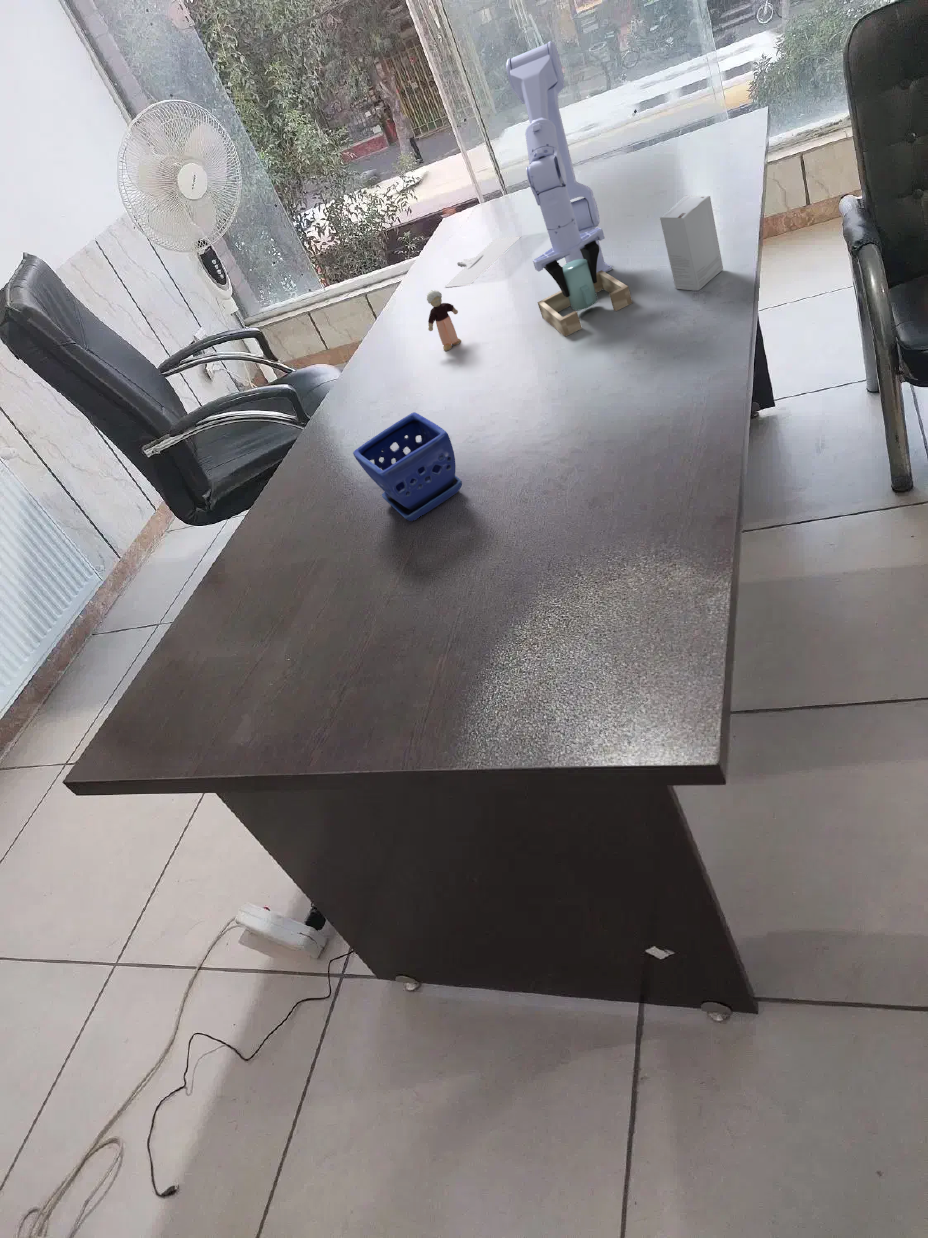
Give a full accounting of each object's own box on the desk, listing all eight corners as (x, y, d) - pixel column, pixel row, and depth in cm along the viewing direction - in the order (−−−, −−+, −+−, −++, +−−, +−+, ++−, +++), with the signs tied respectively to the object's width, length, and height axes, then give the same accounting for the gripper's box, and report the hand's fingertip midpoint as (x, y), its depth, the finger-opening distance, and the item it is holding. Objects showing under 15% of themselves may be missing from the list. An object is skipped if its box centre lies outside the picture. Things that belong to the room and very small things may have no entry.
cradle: (542, 317, 183) (537, 302, 181) (605, 285, 183) (601, 269, 181) (565, 336, 173) (560, 320, 171) (632, 302, 173) (628, 286, 170)
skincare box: (700, 268, 172) (685, 193, 163) (725, 269, 168) (711, 193, 159) (674, 290, 170) (657, 215, 161) (698, 292, 165) (683, 215, 156)
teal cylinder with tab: (580, 316, 173) (568, 278, 168) (567, 304, 179) (556, 268, 174) (605, 304, 173) (594, 266, 168) (592, 293, 179) (581, 256, 174)
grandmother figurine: (447, 354, 188) (424, 299, 180) (436, 352, 191) (413, 299, 183) (471, 335, 191) (449, 280, 183) (460, 333, 193) (438, 280, 186)
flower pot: (409, 533, 142) (379, 475, 134) (379, 505, 152) (349, 449, 145) (475, 490, 144) (449, 430, 136) (441, 465, 154) (414, 408, 147)
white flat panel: (483, 242, 233) (482, 238, 232) (557, 234, 219) (555, 229, 218) (433, 290, 221) (431, 286, 220) (507, 284, 207) (505, 279, 206)
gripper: (533, 243, 163) (554, 310, 172) (602, 209, 163) (620, 277, 171) (521, 235, 169) (542, 300, 177) (588, 202, 169) (606, 268, 177)
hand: (580, 288), depth 175 cm, fingers closed on teal cylinder with tab, 5 cm apart
